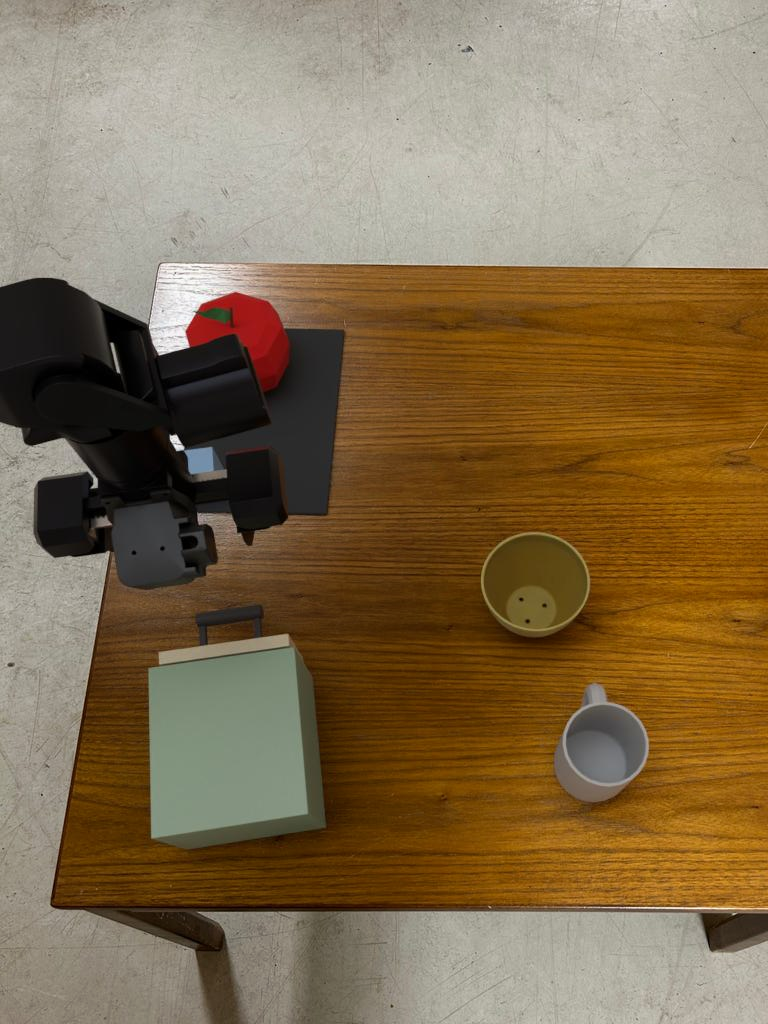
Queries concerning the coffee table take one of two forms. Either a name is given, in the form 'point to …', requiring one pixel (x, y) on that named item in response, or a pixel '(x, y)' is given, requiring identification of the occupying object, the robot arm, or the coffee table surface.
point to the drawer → (227, 648)
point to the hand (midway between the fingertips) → (197, 549)
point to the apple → (245, 332)
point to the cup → (600, 748)
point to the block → (203, 460)
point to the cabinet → (233, 750)
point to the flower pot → (535, 583)
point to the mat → (297, 422)
